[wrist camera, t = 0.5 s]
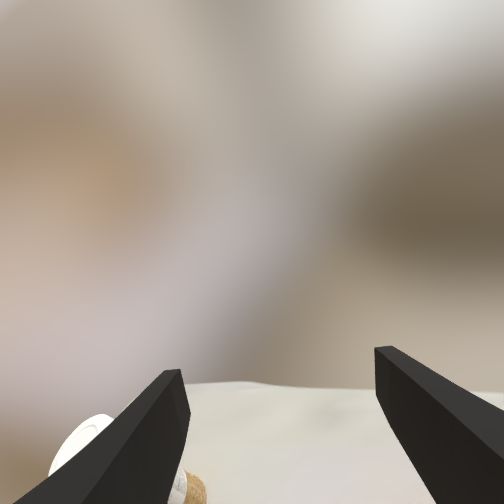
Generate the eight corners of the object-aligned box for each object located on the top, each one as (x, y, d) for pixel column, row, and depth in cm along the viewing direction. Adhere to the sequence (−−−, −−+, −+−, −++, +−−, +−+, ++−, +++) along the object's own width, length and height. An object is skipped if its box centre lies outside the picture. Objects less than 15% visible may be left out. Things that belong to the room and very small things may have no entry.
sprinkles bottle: (166, 558, 21) (31, 512, 15) (164, 494, 25) (57, 436, 19) (213, 522, 22) (102, 463, 15) (204, 465, 26) (112, 399, 19)
